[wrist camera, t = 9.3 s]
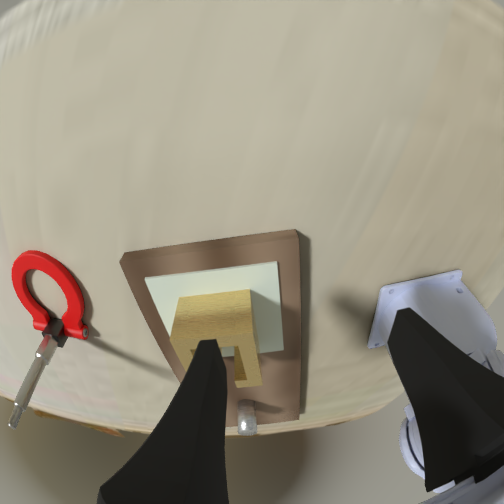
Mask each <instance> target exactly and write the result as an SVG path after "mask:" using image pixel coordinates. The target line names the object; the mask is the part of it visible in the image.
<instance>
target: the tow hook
mask: <svg viewBox="0 0 504 504" xmlns="http://www.w3.org/2000/svg"><path fill="white" fill-rule="evenodd" d="M30 269H37V270H40V271H43V272H45V273H46V274H48V275H49V276H51V277H52V278H53V279H54V280H55V281H56V282H57V283H58V285H59V286H60V287H61V289H62V290H63V292H64V294H65V296H66V299H67V304H68V309H67V312H65V313H64V315H63V316H62V320H58V319H50V317H49V315H48V313H47V311H46V310H45V309H44V308H42V307H41V306H40V305H39V304H38V303H37V302H36V301H35V300H34V299H33V297H32V296H31V294H30V293H29V290H28V288H27V285H26V273H27V271H28V270H30ZM12 282H13V286H14V289H15V291H16V294H17V296H18V298H19V299H20V301H21V303H22V304H23V306H24V307H25V308H26V309H27V310H28V311H29V313H30V314H31V315H32V317H33V319H34V320H33V326H34V328H35V329H36V330H40V331H43V332H42V335H43V337H44V339H43V341H42V342H41V344H40V346H39V348H38V349H37V351H36V354H35V357H36V358H35V360H34V362H33V363H32V365H31V367H30V369H29V371H28V373H27V375H26V377H25V379H24V381H23V383H22V386H21V388H20V390H19V392H18V394H17V396H16V399H15V401H14V405H15V407H14V410H13V412H12V414H11V417H10V419H9V422H8V426H10V427H11V428H13V429H16V427H17V424H18V422H19V419H20V416H21V414H22V411H24V412H25V410H26V408H27V406H28V403H29V401H30V398H31V396H32V394H33V392H34V389H35V387H36V385H37V383H38V381H39V378H40V376H41V374H42V372H43V370H44V368H45V366H46V365H48V364H49V362H50V360H51V358H52V356H53V354H54V352H55V350H56V349H57V347H62V348H63V346H64V344H65V342H66V340H67V338H68V337H73V338H79V339H84V340H86V339H87V337H88V327H87V326H86V325H83V323H82V321H81V318H82V316H83V313H84V299H83V296H82V293H81V290H80V288H79V286H78V284H77V283H76V281H75V279H74V278H73V276H72V275H71V274H70V273H69V271H68V270H67V269H66V268H65V267H64V266H63V265H62V264H61V263H60V262H58V261H57V260H56V259H55V258H53V257H51V256H50V255H48V254H46V253H43V252H40V251H31V250H29V251H26V252H24V253H22V254H21V255H20V256H19V257H18V258H17V259H16V260H15V261H14V264H13V267H12Z"/></svg>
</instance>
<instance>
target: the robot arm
mask: <svg viewBox="0 0 504 504" xmlns="http://www.w3.org/2000/svg"><path fill="white" fill-rule="evenodd" d="M461 277H462V271H461V270H460V269H458V270H454V271H450V272H446V273H441V274H437V275H433V276H428V277H424V278H419V279H414V280H410V281H405V282H400V283H395V284H390V285H385V286H383V287H382V288H381V290H380V293H379V298H378V303H377V307H376V312H375V316H374V320H373V324H372V328H371V332H370V336H369V340H368V344H367V346H368V348H370V349H372V348H376V347H380V346H384V345H385V346H386V348H387V350H388V353H389V355H390V357H391V359H392V361H393V364H394V366H395V368H396V370H397V373H398V375H399V377H400V380H401V382H402V384H403V387H404V389H405V392H406V394H407V397H408V399H409V401H410V404H409V405H407V406H406V407H405V408H404V410H405V413H406V416H407V417H406V418H405V419H404V421H403V422H402V425H401V429H400V435H399V443H400V449H401V452H402V456H403V458H404V460H405V462H406V464H407V465H408V467H409V468H410V469H411V470H412V471H413V472H414V473H416V474H418V475H419V476H421V477H422V478H423V479H424V480H425V487H426V491H427V492H430V491H432V490H433V491H434V492H436V493H440V494H438V495H436V496H434V497H432V498H430V499H428V500H426V501H424V502H421V503H419V504H504V354H503V353H502V352H501V351H500V350H496V345H497V334H496V329H495V326H494V323H493V321H492V319H491V317H490V316H489V314H488V313H487V312H486V310H485V309H484V308H483V307H482V305H481V304H480V303H479V301H478V300H477V299H476V298H475V297H474V295H473V294H472V293H471V292H470V290H469V289H468V288H467V287H466V286H465V285H464V283H463V282H462V281H461ZM391 289H392V290H391ZM390 290H391V291H390ZM227 395H228V389H227V369H226V366H225V363H224V360H223V357H222V354H221V352H220V349H219V346H218V342H217V339H210V340H200V341H199V343H198V345H197V348H196V351H195V353H194V356H193V358H192V361H191V363H190V365H189V367H188V370H187V372H186V374H185V376H184V378H183V380H182V382H181V384H180V386H179V388H178V390H177V392H176V394H175V396H174V398H173V400H172V401H171V403H170V405H169V407H168V408H167V410H166V412H165V413H164V415H163V417H162V418H161V420H160V421H159V423H158V424H157V426H156V427H155V429H154V430H153V431H152V433H151V434H150V435H149V437H148V438H147V439H146V441H145V442H144V443H143V445H142V446H141V447H140V448H139V449H138V451H137V452H136V453H135V454H134V455H133V456H132V457H131V458H130V459H129V461H127V463H126V464H125V465H124V466H123V467H122V468H121V469H120V470H119V471H118V472H116V473H115V474H114V475H113V476H112V477H111V478H110V479H109V480H108V481H106V482H105V483H104V484H103V485H102V486H101V487H100V489H99V493H98V498H97V504H229V500H228V491H227V480H226V468H225V451H224V445H225V425H226V410H227Z"/></svg>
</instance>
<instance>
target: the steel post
mask: <svg viewBox="0 0 504 504" xmlns="http://www.w3.org/2000/svg"><path fill="white" fill-rule="evenodd" d="M237 413H238V433H239V434H240V435H254V434H256V433H257V421H256V406H255V401H254V400H251V399H242V400H240V401H238V402H237Z"/></svg>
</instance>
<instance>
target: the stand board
mask: <svg viewBox="0 0 504 504" xmlns="http://www.w3.org/2000/svg"><path fill="white" fill-rule="evenodd" d="M274 261H277V268H278V280H279V292H280V305H281V318H282V331H283V346H284V350H281V351H274V352H266V353H260V358H261V370H262V381H263V385H262V386H252V387H242V388H237V387H236V384H235V373H234V356H227V357H223V360H224V363H225V366H226V369H227V389H228V395H227V410H226V425H225V427H233V426H238V413H237V402H238V401H240V400H242V399H251V400H254V401H255V406H256V421H257V425H260V424H270V423H278V422H286V421H293V420H299V410H300V375H301V293H300V257H299V237H298V235H297V232H296V230H295V229H293V230H285V231H277V232H269V233H261V234H254V235H246V236H238V237H231V238H223V239H216V240H209V241H202V242H194V243H187V244H180V245H173V246H166V247H159V248H153V249H146V250H139V251H133V252H126V253H124V255H123V257H122V258H121V260H120V265H121V267H122V270H123V272H124V274H125V277H126V279H127V281H128V284H129V286H130V288H131V290H132V293H133V295H134V297H135V299H136V301H137V303H138V305H139V308H140V310H141V312H142V314H143V316H144V318H145V320H146V322H147V324H148V326H149V328H150V330H151V332H152V334H153V336H154V337H155V339H156V341H157V343H158V345H159V347H160V349H161V351H162V352H163V354H164V356H165V358H166V360H167V361H168V363H169V365H170V367H171V368H172V370H173V372H174V373H175V375H176V377H177V379H178V380H179V382H180V384H181V382H182V380H183V378H184V376H185V374H186V371H185V369H184V367H183V366H182V364H181V362H180V360H179V358H178V356H177V354H176V352H175V350H174V348H173V346H172V344H171V342H170V336H169V334H168V332H167V330H166V328H165V325H164V323H163V321H162V319H161V317H160V315H159V312H158V310H157V308H156V305H155V303H154V301H153V299H152V296H151V294H150V291H149V289H148V287H147V284H146V282H145V277H153V276H162V275H170V274H179V273H187V272H195V271H203V270H212V269H220V268H228V267H236V266H243V265H251V264H259V263H267V262H274Z"/></svg>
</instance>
